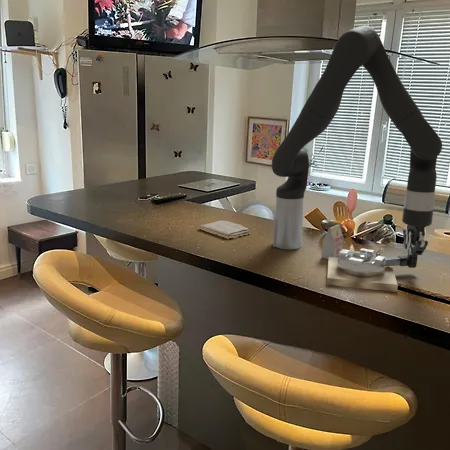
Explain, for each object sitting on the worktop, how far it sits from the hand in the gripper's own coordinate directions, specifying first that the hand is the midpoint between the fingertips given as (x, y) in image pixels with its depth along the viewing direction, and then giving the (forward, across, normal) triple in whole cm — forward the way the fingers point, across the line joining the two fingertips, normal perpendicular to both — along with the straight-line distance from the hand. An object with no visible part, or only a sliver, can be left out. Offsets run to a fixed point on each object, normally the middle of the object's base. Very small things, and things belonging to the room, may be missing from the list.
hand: (411, 266), depth 129 cm
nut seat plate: (+3, 0, +14) cm, 14 cm away
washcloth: (+4, +43, +54) cm, 69 cm away
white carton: (+4, +17, +19) cm, 26 cm away
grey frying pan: (+1, +1, +9) cm, 9 cm away
